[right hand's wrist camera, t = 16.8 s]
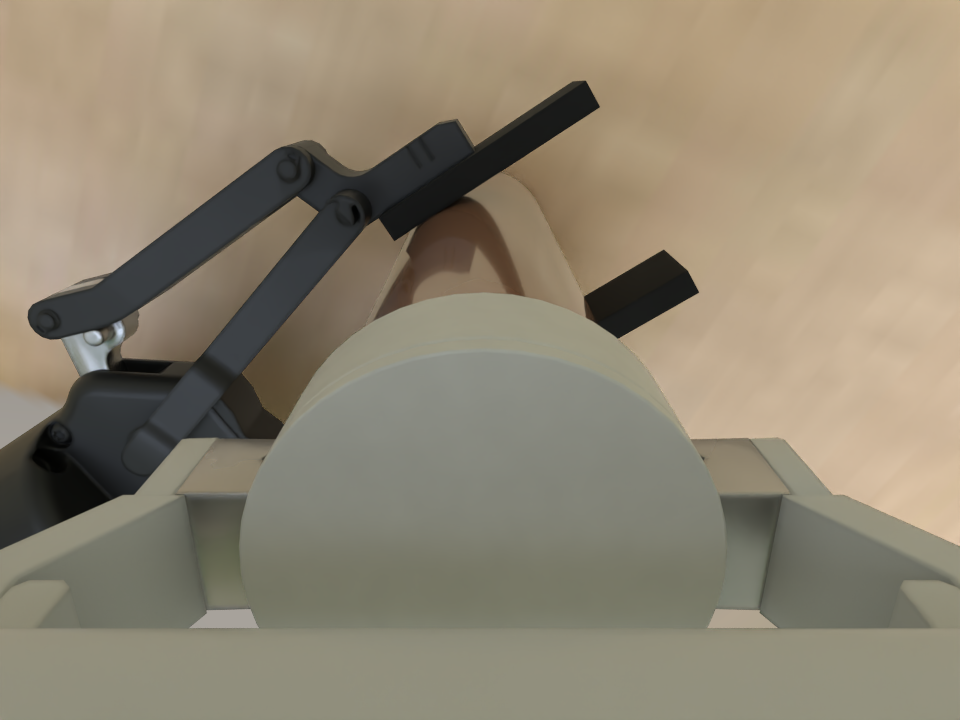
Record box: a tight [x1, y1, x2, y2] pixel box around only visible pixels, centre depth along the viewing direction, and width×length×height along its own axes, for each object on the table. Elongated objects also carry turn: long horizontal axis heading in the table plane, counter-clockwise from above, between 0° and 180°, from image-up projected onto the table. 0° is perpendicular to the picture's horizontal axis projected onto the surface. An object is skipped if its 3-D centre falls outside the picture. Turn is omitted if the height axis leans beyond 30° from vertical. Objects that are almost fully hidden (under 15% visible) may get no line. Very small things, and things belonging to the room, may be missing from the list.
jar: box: [364, 172, 598, 327], centre depth 18 cm, size 5×5×20 cm
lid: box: [239, 293, 727, 628], centre depth 9 cm, size 6×6×2 cm
